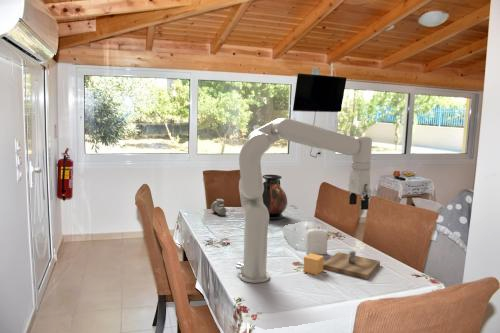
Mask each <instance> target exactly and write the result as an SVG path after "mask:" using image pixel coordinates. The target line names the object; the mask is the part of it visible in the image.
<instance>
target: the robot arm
mask: <svg viewBox="0 0 500 333" xmlns="http://www.w3.org/2000/svg"><path fill="white" fill-rule="evenodd" d="M280 140H283V141H289V142H292V143H295V144H299V145H304V146H307V147H311V148H315V149H323V150H327V151H330V152H335V153H338V154H341V155H345V156H351V169H350V172H349V173H350V174H349V181H348V191H349V193H348V194H349V201H348V202H349V205H350V206H351V205H357V203H358V202H357V201H358V200H357V199H358V196H359V195H360V197H361V199H360V210H362V211H363V210H365V211H366V210H369V206H370V205H369V202H370V200H371V196H372V193H373V191H372V189H371V172H370V171H371V162H372V161H371V160H372V148H373V147H372V146H373V145H372V144H373V139H372V137H370V136H351V135H348V134H343V133H341V132H340V133H339V132H337V131H333V130H329V129H326V128H324V127H321V126H317V125H313V124H310V123H306V122H302V121H299V120H295V119H292V118H287V117H280V118H279V117H278V118H276V119H274V120H273V121H271V122H269V123H267V124H265V125H263V126H261V127H260V128H257V129H255V130H253V131H251V133H249V135H248V136H247V138H246V141H245V143H243V144H244V145H243V146H242V147H241V150H240V152H239V157H238V165H239V176H240V178H239V181H238V191H239V197H240V204H241V210H242V211H241V212H242V214H243V216H244V230H243V231H244V232H243V233H244V234H243V262H239V261H238V262H237V263H236V266H235V269H237V270H240V272H239V274H238V275H239V278H240V280H241V281H243V282H246V283H250V284H251V283H252V284H259V283H265V282H267V281H269V280H270V279H271V278H270V277H271V274H270V273H269V272H268V271H267V259H268V257H267V256H268V235H269V234H268V232H269V231H268V230H269V225H270V224H269V223H270V220H269V212H268V209H267V207H266V206H265V205H264V204H263V197H262V194H263V191H264V184H263V183H264V180H263V177H262V176H263V174H262V166H261V165H262V164H261V163H262V162H261V160H262V156H264V153H265V152H267V151H268V150H269V149H270V148H271V145H273V144H274V143H276V142H278V141H280Z"/></svg>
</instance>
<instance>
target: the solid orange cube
mask: <svg viewBox="0 0 500 333" xmlns="http://www.w3.org/2000/svg"><path fill="white" fill-rule="evenodd" d="M324 260H325V259H324V255H322V254H312V253H310V254H306V256H303V271H302V272H303V273H308V274H312V275H315V276H318V275H319V274H320V273H322V272H323V271H324V269H323V263H324Z"/></svg>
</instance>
